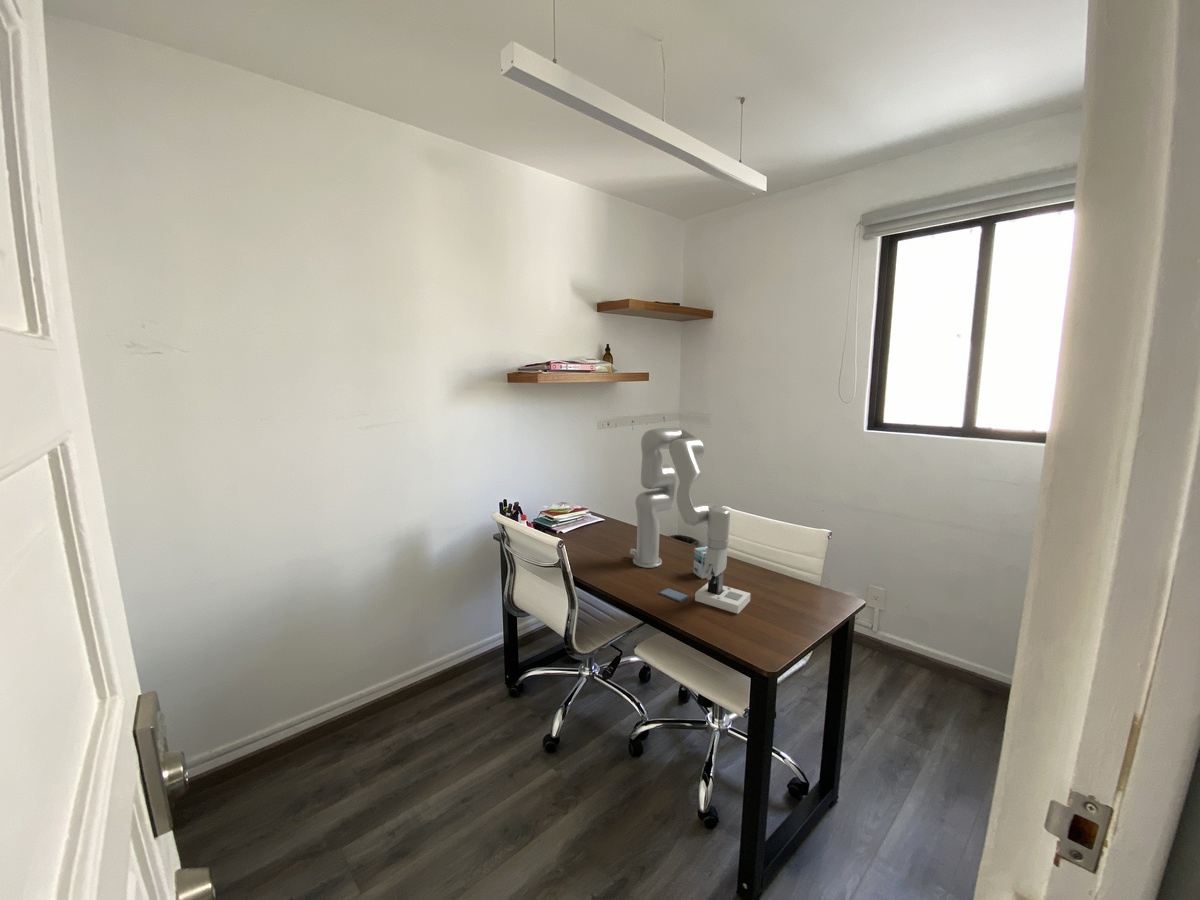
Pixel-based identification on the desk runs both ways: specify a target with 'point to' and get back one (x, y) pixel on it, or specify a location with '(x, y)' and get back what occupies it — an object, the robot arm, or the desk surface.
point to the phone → (674, 595)
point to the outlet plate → (724, 598)
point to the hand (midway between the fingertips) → (715, 590)
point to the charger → (719, 583)
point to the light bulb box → (699, 561)
